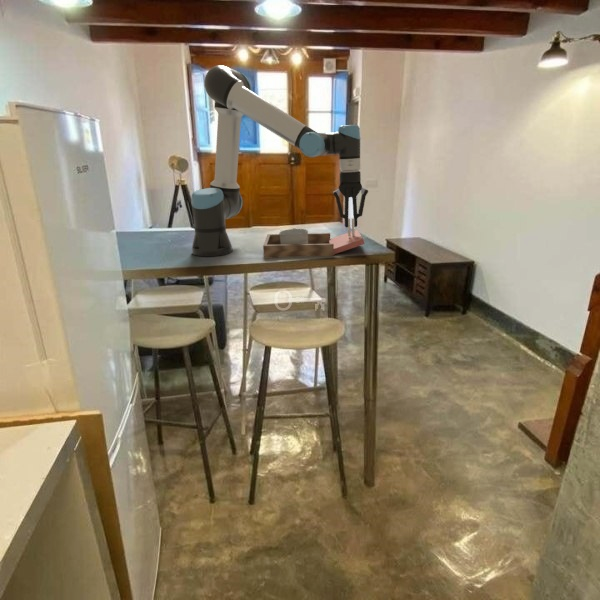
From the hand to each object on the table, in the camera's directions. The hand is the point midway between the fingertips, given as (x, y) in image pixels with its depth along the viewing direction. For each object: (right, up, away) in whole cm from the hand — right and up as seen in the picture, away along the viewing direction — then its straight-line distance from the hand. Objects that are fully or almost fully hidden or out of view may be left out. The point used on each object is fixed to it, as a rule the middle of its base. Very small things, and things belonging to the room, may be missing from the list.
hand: (351, 235), depth 160 cm
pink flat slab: (-7, -5, +2) cm, 9 cm away
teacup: (-22, -6, +2) cm, 22 cm away
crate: (-20, -5, +2) cm, 21 cm away
